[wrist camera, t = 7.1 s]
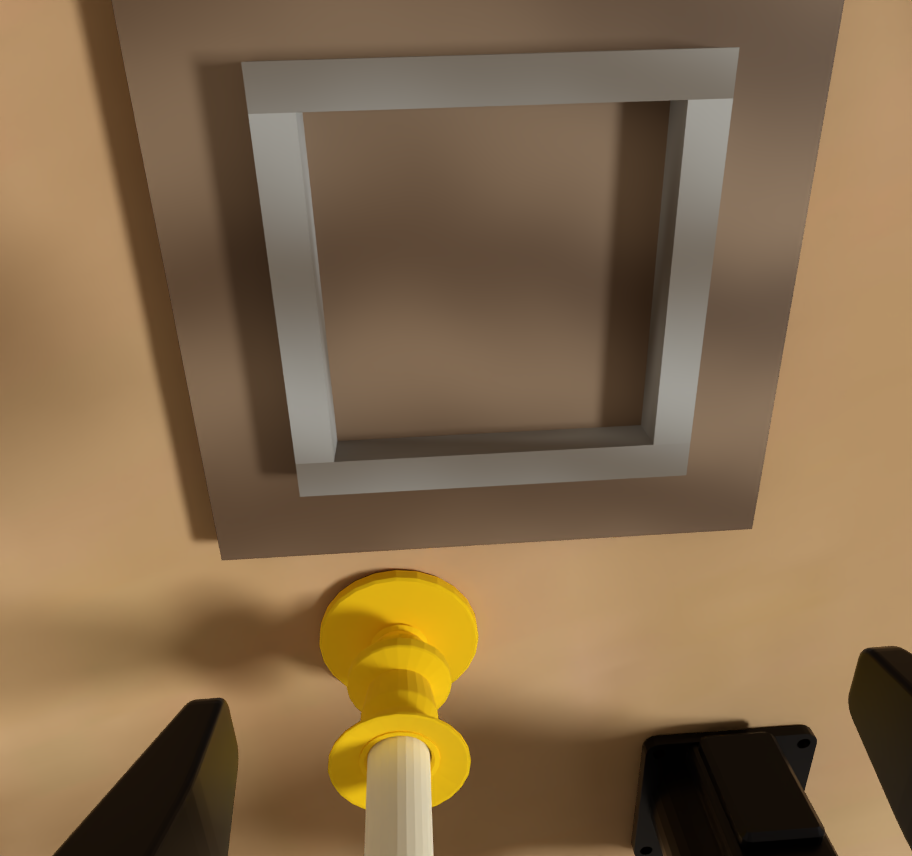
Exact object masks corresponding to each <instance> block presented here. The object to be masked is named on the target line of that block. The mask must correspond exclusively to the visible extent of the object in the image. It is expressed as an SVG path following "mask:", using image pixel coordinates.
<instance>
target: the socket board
mask: <svg viewBox="0 0 912 856" xmlns="http://www.w3.org/2000/svg"><path fill="white" fill-rule="evenodd" d="M111 1H112V6H113V11H114V16H115V21H116V26H117V31H118V36H119V41H120V46H121V51H122V56H123V61H124V67H125V72H126V77H127V82H128V87H129V92H130V97H131V102H132V107H133V112H134V117H135V122H136V127H137V132H138V138H139V143H140V148H141V153H142V158H143V163H144V168H145V173H146V178H147V183H148V188H149V193H150V198H151V203H152V209H153V214H154V219H155V224H156V229H157V234H158V239H159V244H160V249H161V254H162V259H163V264H164V269H165V274H166V280H167V285H168V290H169V295H170V300H171V305H172V310H173V315H174V320H175V325H176V330H177V335H178V340H179V346H180V351H181V356H182V361H183V366H184V371H185V376H186V381H187V386H188V391H189V396H190V401H191V406H192V411H193V417H194V422H195V427H196V432H197V437H198V442H199V447H200V452H201V457H202V462H203V467H204V472H205V477H206V482H207V488H208V493H209V498H210V503H211V508H212V513H213V518H214V523H215V528H216V533H217V538H218V543H219V548H220V553H221V559H222V560H237V559H253V558H270V557H287V556H304V555H321V554H338V553H354V552H371V551H388V550H405V549H422V548H439V547H455V546H472V545H489V544H506V543H523V542H540V541H556V540H573V539H590V538H607V537H624V536H641V535H657V534H674V533H691V532H708V531H725V530H742V529H752V526H753V520H754V514H755V509H756V503H757V497H758V492H759V486H760V480H761V474H762V469H763V463H764V457H765V451H766V446H767V440H768V434H769V429H770V423H771V417H772V411H773V406H774V400H775V394H776V389H777V383H778V377H779V371H780V366H781V360H782V354H783V348H784V343H785V337H786V331H787V326H788V320H789V314H790V308H791V303H792V297H793V291H794V285H795V280H796V274H797V268H798V263H799V257H800V251H801V245H802V240H803V234H804V228H805V223H806V217H807V211H808V205H809V200H810V194H811V188H812V182H813V177H814V171H815V165H816V160H817V154H818V148H819V142H820V137H821V131H822V125H823V119H824V114H825V108H826V102H827V97H828V91H829V85H830V79H831V74H832V68H833V62H834V57H835V51H836V45H837V39H838V34H839V28H840V22H841V16H842V11H843V5H844V0H111Z"/></svg>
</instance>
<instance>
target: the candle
mask: <svg viewBox="0 0 912 856" xmlns="http://www.w3.org/2000/svg"><path fill="white" fill-rule="evenodd" d="M477 643H478V631H477V624H476V618H475V613H474V611H473V610H472V608H471V606H470V604H469V602H468V600H467V599H466V598H465V597H464V596H463V595H462V594H461V593H460V592H459V591H458V590H457V589H456V588H455V587H454V586H452V585H451V584H449V583H447V582H445V581H443V580H442V579H440V578H438V577H436V576H432V575H429V574H425V573H422V572H418V571H404V570H393V571H386V572H380V573H374V574H372V575H369V576H367V577H364V578H362V579H359V580H357V581H355V582H353V583H352V584H350V585H349V586H347V587H346V588H345V589H343V590H342V591H340V592H339V593H338V594H337V596H336V597H335V598H334V599H333V600H332V602H331V603H330V604H329V605H328V607H327V609H326V612H325V614H324V617H323V619H322V621H321V628H320V644H319V646H320V650H321V653H322V657H323V660H324V662H325V664H326V665H327V667H328V668H329V670H330V671H331V673H332V674H333V676H335V677H336V678H337V679H338V680H339V681H341V682H342V683H343V684H344V685H345V686H347V690H348V694H349V697H350V699H351V701H352V702H353V704H354V705H355V707H356V708H357V709H359V710H360V711H361V721H360V722H358V723H356V724H355V725H353V726H352V727H350V728H349V729H347V730H346V731H345V732H344V733H343V734H342V735H341V736H340V737H339V738H338V739H337V740H336V742H335V743H334V745H333V747H332V750H331V752H330V754H329V761H328V773H329V776H330V779H331V783H332V784H333V786H334V787H335V788H336V790H337V791H338V792H339V794H340V795H341V796H343V797H344V798H345V799H347V800H348V801H349V802H351V803H352V804H354V805H356V806H359V807H361V808H363V809H366V818H365V847H364V856H433V828H432V807H435V806H437V805H439V804H440V803H442V802H444V801H446V800H447V799H449V798H451V797H452V796H453V795H454V794H455V793H456V792H457V791H458V790H459V789H460V788H461V787H462V785H463V784H464V782H465V780H466V778H467V776H468V775H469V769H470V764H471V758H470V753H469V748H468V745H467V744H466V742H465V740H464V739H463V737H462V735H461V734H460V733H459V732H458V731H456V730H455V729H454V728H453V727H452V726H451V725H449V724H448V723H446V722H444V721H441V720H439V719H438V712H437V710H438V709H439V708H440V707H441V706H442V704H443V703H444V702H445V701H446V699H447V697H448V695H449V693H450V689H451V683H453V682H454V681H456V680H457V679H458V678H459V677H460V676H461V675H462V674H463V672H464V671H465V670H466V669H467V668H468V667H469V665H470V663H471V661H472V659H473V657H474V655H475V653H476V648H477Z"/></svg>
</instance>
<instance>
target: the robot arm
mask: <svg viewBox="0 0 912 856" xmlns="http://www.w3.org/2000/svg"><path fill="white" fill-rule="evenodd" d="M848 704H849V710H850V714H851V716H852V719H853V721H854V724H855V726H856V728H857V731H858V733H859V735H860V737H861V740H862V742H863V744H864V747H865V749H866V751H867V753H868V756H869V758H870V760H871V763H872V765H873V767H874V769H875V772H876V774H877V776H878V779H879V781H880V783H881V786H882V788H883V790H884V792H885V795H886V797H887V799H888V802H889V804H890V806H891V808H892V811H893V813H894V815H895V818H896V820H897V822H898V824H899V826H900V828H901V830H902V832H903V835H904V837H905V839H906V840H907V842H908V844H909V846H910V848H911V850H912V654H911V653H910V652H908V651H906V650H904V649H902V648H900V647H897V646H885V647H872V648H867V649H864V650H863V651H862V652H861V653H860V656H859V658H858V662H857V666H856V670H855V673H854V677H853V681H852V684H851V688H850V692H849V698H848ZM816 744H817V739H816V737H815V735H814V734H813V732H812V730H811V729H810V728H809V727H807V726H788V727H774V728H760V729H746V730H732V731H718V732H705V733H691V734H677V735H663V736H654V737H651V738H649V739H647V740H646V741H645V742H644V744H643V747H642V755H641V764H640V772H639V781H638V790H637V798H636V807H635V815H634V824H633V833H632V841H631V843H632V847H633V851H634V854H635V856H838V854H837V853H836V851H835V849H834V847H833V845H832V843H831V842H830V840H829V838H828V836H827V834H826V832H825V829H824V827H823V825H822V823H821V821H820V819H819V817H818V816H817V814H816V812H815V810H814V808H813V806H812V805H811V803H810V801H809V799H808V797H807V795H806V793H805V792H804V790H805V787H806V783H807V779H808V775H809V771H810V767H811V763H812V759H813V756H814V752H815V748H816ZM237 771H238V746H237V741H236V736H235V732H234V728H233V723H232V719H231V715H230V710H229V707H228V704H227V702H226V701H225V700H224V699H222V698H210V699H197V700H192V701H190V702H189V703H187V704H186V705H185V706H184V707H183V708H182V710H181V711H180V712H179V713H178V714H177V715H176V716H175V717H174V719H173V720H172V721H171V722H170V723H169V724H168V725H167V727H166V728H165V729H164V730H163V731H162V732H161V733H160V734H159V736H158V737H157V738H156V739H155V740H154V741H153V742H152V744H151V745H150V746H149V747H148V748H147V749H146V750H145V751H144V753H143V754H142V755H141V756H140V757H139V758H138V759H137V761H136V762H135V763H134V764H133V765H132V766H131V767H130V768H129V770H128V771H127V772H126V773H125V774H124V775H123V776H122V778H121V779H120V780H119V781H118V782H117V783H116V784H115V785H114V787H113V788H112V789H111V790H110V791H109V792H108V793H107V795H106V796H105V797H104V798H103V799H102V800H101V801H100V802H99V804H98V805H97V806H96V807H95V808H94V809H93V810H92V811H91V813H90V814H89V815H88V816H87V817H86V818H85V819H84V821H83V822H82V823H81V824H80V825H79V826H78V827H77V828H76V830H75V831H74V832H73V833H72V834H71V835H70V836H69V838H68V839H67V840H66V841H65V842H64V843H63V844H62V845H61V847H60V848H59V849H58V850H57V851H56V852H55V853H54V855H53V856H228V848H229V839H230V831H231V822H232V814H233V805H234V796H235V788H236V779H237Z"/></svg>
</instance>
